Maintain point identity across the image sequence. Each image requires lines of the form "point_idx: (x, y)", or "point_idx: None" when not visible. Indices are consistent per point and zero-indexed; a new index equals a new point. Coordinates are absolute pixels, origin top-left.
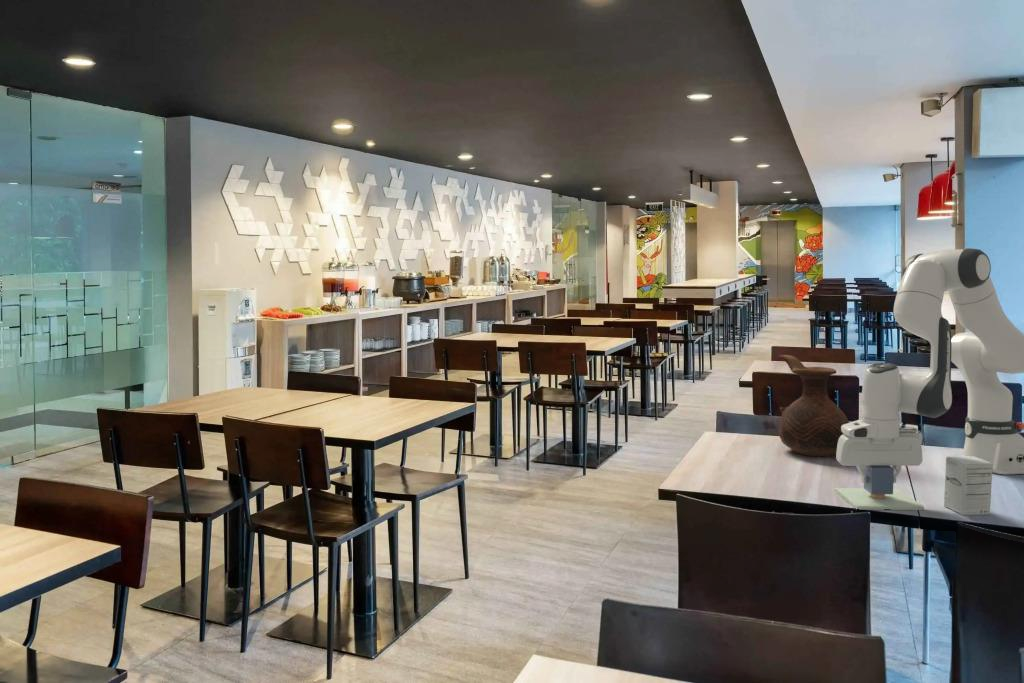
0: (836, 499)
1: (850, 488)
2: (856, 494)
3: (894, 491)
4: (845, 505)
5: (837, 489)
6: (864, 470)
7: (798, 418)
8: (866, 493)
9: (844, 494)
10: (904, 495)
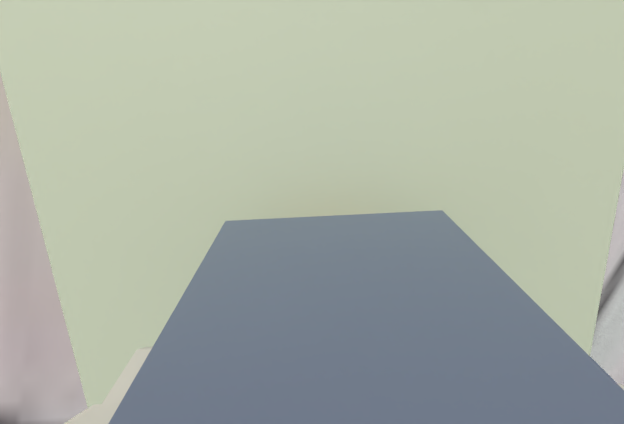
0: (6, 270)
1: (149, 1)
2: (167, 219)
3: (565, 94)
4: (60, 402)
5: (6, 55)
6: (160, 337)
7: None
8: (267, 180)
9: (59, 227)
10: (587, 220)
